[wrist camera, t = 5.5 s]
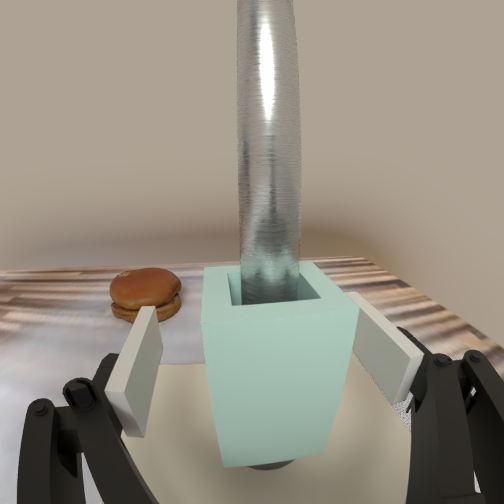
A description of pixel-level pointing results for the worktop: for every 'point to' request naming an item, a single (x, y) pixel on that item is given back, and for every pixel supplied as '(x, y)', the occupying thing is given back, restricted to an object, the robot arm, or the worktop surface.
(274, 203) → the metal rod
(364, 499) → the cream stand base
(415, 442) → the robot arm
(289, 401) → the teal sleeve
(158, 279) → the burger
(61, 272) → the worktop surface
